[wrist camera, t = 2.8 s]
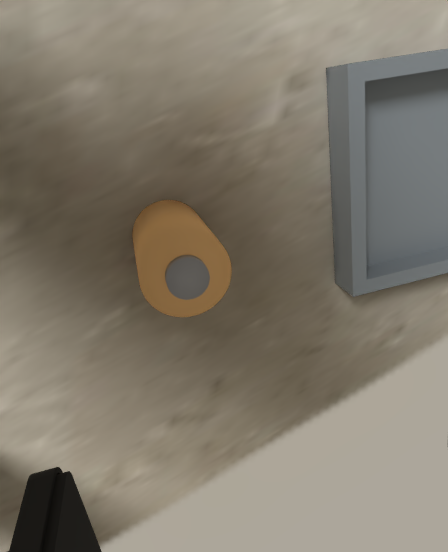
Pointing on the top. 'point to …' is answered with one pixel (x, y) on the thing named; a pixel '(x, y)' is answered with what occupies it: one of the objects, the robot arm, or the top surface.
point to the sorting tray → (389, 170)
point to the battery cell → (179, 260)
